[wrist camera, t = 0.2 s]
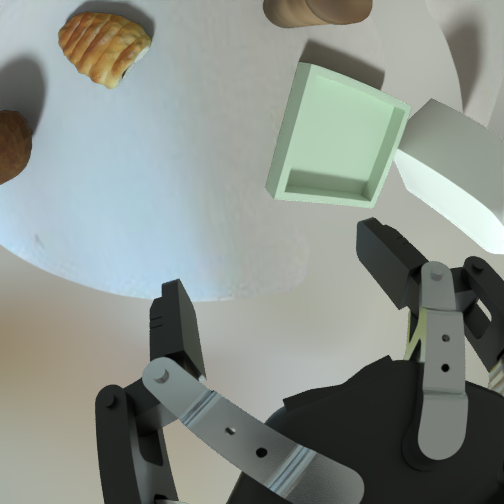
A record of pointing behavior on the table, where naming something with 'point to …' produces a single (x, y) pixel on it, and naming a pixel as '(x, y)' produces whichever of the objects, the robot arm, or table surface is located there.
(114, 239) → the table surface
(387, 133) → the bin
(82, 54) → the pastry
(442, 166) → the milk
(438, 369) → the robot arm
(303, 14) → the pepper mill
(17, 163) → the potato
